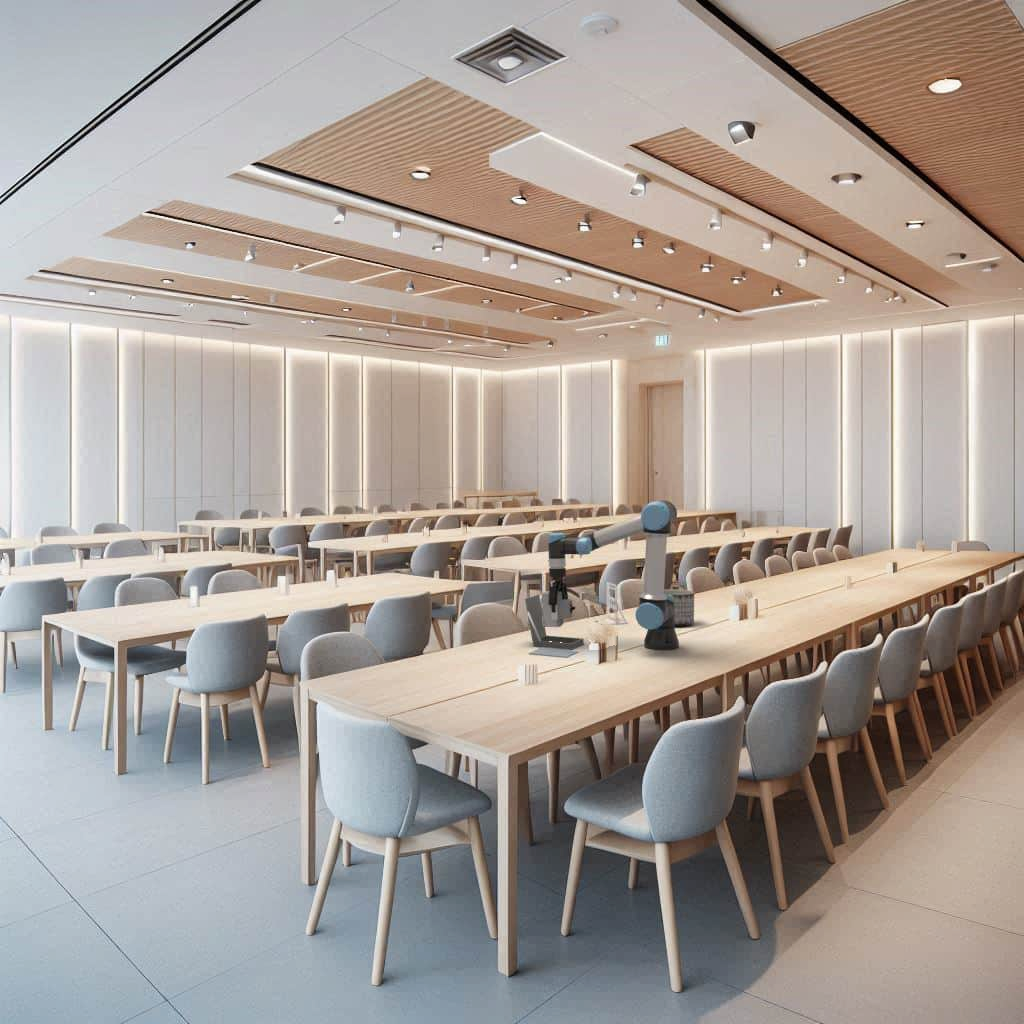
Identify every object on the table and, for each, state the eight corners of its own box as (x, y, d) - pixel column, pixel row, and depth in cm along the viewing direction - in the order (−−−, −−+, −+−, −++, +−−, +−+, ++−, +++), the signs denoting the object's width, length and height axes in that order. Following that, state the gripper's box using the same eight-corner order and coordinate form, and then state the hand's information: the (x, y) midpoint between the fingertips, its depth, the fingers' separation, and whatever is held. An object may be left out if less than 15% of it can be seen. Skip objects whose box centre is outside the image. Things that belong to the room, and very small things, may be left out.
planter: (649, 626, 424) (649, 593, 424) (664, 620, 441) (663, 588, 440) (686, 629, 414) (686, 595, 413) (700, 623, 431) (699, 590, 430)
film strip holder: (593, 620, 442) (592, 582, 442) (618, 619, 446) (618, 581, 445) (602, 625, 428) (602, 586, 428) (628, 624, 432) (628, 584, 431)
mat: (578, 652, 367) (578, 651, 367) (567, 657, 357) (567, 656, 357) (540, 648, 376) (540, 647, 376) (528, 654, 365) (528, 653, 365)
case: (583, 644, 384) (583, 597, 383) (571, 650, 372) (570, 601, 371) (538, 640, 395) (537, 594, 394) (524, 645, 382) (524, 598, 381)
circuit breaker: (574, 627, 377) (572, 593, 376) (542, 626, 380) (541, 593, 379) (576, 624, 384) (575, 591, 384) (545, 624, 387) (544, 591, 387)
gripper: (559, 564, 392) (561, 613, 393) (539, 570, 373) (541, 621, 374) (574, 565, 389) (576, 614, 390) (554, 570, 370) (556, 622, 371)
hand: (559, 617), depth 382 cm, fingers closed on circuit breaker, 9 cm apart
